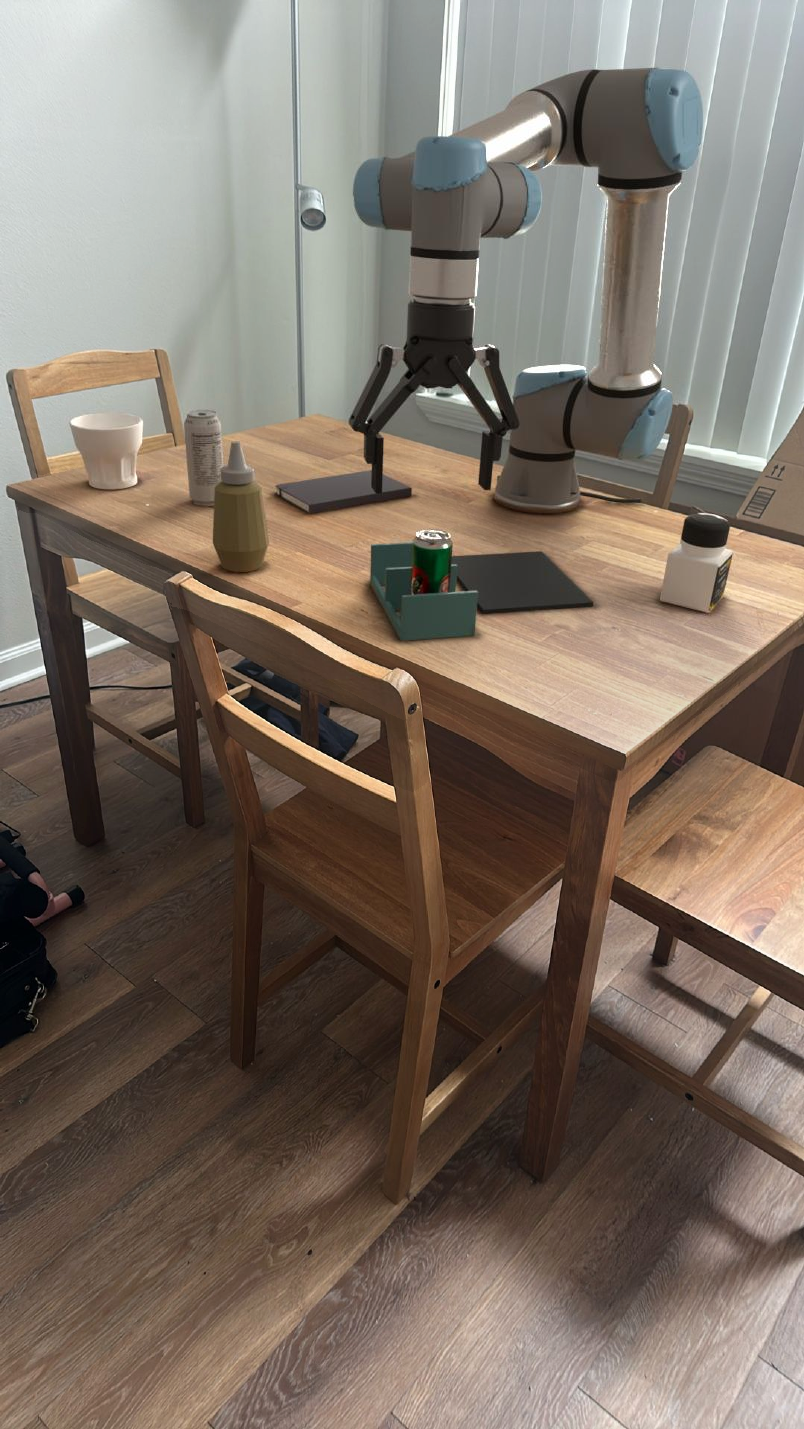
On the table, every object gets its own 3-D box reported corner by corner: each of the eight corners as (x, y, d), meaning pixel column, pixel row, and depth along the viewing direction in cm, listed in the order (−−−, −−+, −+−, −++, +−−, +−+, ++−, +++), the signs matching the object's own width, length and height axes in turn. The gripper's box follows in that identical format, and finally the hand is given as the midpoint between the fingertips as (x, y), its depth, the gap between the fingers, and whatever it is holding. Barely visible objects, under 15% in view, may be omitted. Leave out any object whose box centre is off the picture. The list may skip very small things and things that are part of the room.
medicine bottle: (709, 614, 130) (727, 529, 124) (658, 601, 133) (674, 518, 127) (723, 597, 135) (741, 515, 129) (674, 585, 138) (690, 505, 132)
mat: (541, 554, 147) (541, 551, 147) (593, 606, 131) (593, 602, 130) (442, 560, 144) (442, 556, 144) (482, 613, 127) (483, 609, 127)
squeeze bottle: (224, 579, 134) (216, 452, 125) (206, 560, 140) (198, 437, 131) (278, 571, 138) (274, 447, 129) (258, 553, 144) (253, 433, 135)
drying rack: (435, 580, 137) (438, 540, 134) (474, 635, 121) (478, 592, 118) (370, 584, 135) (370, 543, 132) (401, 641, 119) (402, 597, 116)
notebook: (309, 513, 160) (411, 495, 171) (308, 504, 160) (412, 487, 170) (273, 493, 169) (373, 477, 180) (273, 484, 169) (373, 469, 179)
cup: (163, 481, 173) (157, 419, 168) (111, 497, 164) (103, 433, 159) (115, 469, 179) (108, 409, 173) (62, 484, 170) (53, 421, 164)
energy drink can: (222, 495, 168) (217, 408, 160) (228, 505, 163) (222, 416, 155) (187, 497, 166) (180, 409, 158) (192, 508, 161) (185, 418, 153)
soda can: (444, 632, 122) (449, 543, 116) (405, 628, 122) (409, 539, 116) (450, 617, 126) (456, 530, 120) (413, 612, 127) (416, 526, 121)
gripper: (536, 297, 111) (517, 477, 121) (324, 293, 105) (324, 482, 116) (559, 305, 104) (538, 494, 115) (336, 302, 99) (335, 500, 109)
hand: (431, 488), depth 115 cm, fingers open, 13 cm apart
